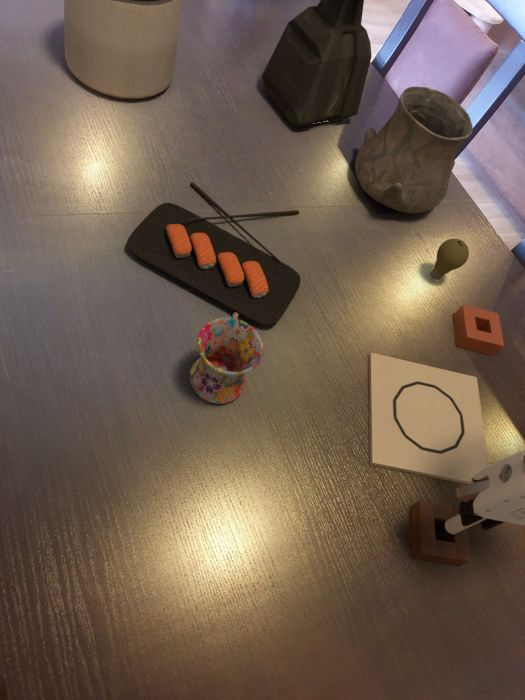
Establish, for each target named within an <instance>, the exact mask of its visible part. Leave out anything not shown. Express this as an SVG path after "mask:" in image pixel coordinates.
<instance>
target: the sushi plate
mask: <svg viewBox="0 0 525 700" xmlns="http://www.w3.org/2000/svg"><path fill="white" fill-rule="evenodd" d="M189 184H191V185H190V187H191V186H193V187H194V188H195V189H194V188H193V187H192V188H193V189H194V190H195V191H196V190H197V191H198V192H197V191H196V192H197V193H198V194H199V193H200V196H201V197H203V198H204V199H205V200H206V201H207V202H208V203H210V205H212V206H213V207H215V209H217V210H218V211H219V212H220V213H221V214H222V215H221V216H206V217H201V216H199V215H198V214H196V213H194V212H193V211H190V210H188V209H186V208H184V207H183V206H180V205H179V204H176V203H173V202H163V203H161V204H159V205H157V206H156V207H155V208H154V209H153V210H152V211H150V213H148V215H147V216H146V217H145V218H144V219H143V220H141V222H140V223H139V224H138V225H137V226H136V227H135V229H134V230H133V231H132V232H131V234H130V235H129V236H128V238H127V241H126V247H127V249H128V250H129V251H130V253H132V254H133V255H134V256H136V257H137V258H139V259H141V260H142V261H144V262H146V263H148V264H149V265H150V266H153V267H154V268H156V269H158V270H159V271H161V272H163V273H165V274H166V275H169V276H170V277H172V278H174V279H175V280H178V281H179V282H181V283H183V284H184V285H186V286H188V287H190V288H192V289H194V290H196V291H197V292H200V293H201V294H203V295H204V296H206V297H208V298H210V299H211V300H214V301H216V302H218V303H219V304H221V305H223V306H225V307H226V308H228V309H229V310H232V311H234V312H236V313H238V315H241V316H243V317H245V318H246V319H249V320H251V321H253V322H255V323H257V324H259V325H262V326H267V327H270V326H273V325H276V324H277V323H278V322H279V321H280V320H281V318H282V317H283V316H284V314H285V313H286V311H287V309H288V308H289V306H290V304H291V303H292V301H293V299H294V298H295V296H296V294H297V292H298V290H299V288H300V285H301V275H300V274H299V272H297V271H296V269H294V268H292V267H291V266H290V265H288V264H286V263H284V262H283V261H281V260H280V259H279V258H278V257H277V256H276V255H275V254H273V253H272V252H271V251H270V250H269V249H268V248H267V247H266V246H264V245H263V244H262V243H261V242H259V240H258V239H257V238H255V237H254V236H253V235H252V234H251V233H250V232H248V231H247V229H245V228H244V226H242V225H241V224H240V223H238V222H237V220H235V219H239V218H255V217H256V218H259V217H260V218H261V217H275V216H279V217H280V216H293V215H299V214H300V211H299V210H298V209H295V210H282V211H281V210H280V211H269V212H268V211H267V212H257V213H248V214H233V215H230V214H229V213H228V212H227V211H225V210H224V209H223V208H222V207H221V206H220V205H219V204H218V203H217V202H215V200H214V199H212V198H211V197H210V196H209V195H208V194H207V193H206V192H205V191H204V190H202V189H201V187H199V186H198V185H197V184H196V183H195V182H193V181H192V182H190V183H189ZM222 219H228V220H230V221H231V222H232V223H233V224H234V225H236V226H237V227H238V228H239V229H240V230H241V231H243V232H244V233H245V234H246V235H247V236H248V237H250V239H251V240H253V241H254V242H255V243H256V244H257V245H259V246H260V247H261V248H262V249H263V250H264V251H263V250H262V249H259V248H257V247H256V246H254V245H252V244H250V243H249V242H247V241H245V240H243V239H242V238H239V237H237V236H236V235H234V234H232V233H231V232H228V231H227V230H225V229H223V228H221V227H220V226H218V225H216V224H214V223H212V222H210V221H209V220H222Z"/></svg>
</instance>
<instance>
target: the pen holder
mask: <svg viewBox="0 0 525 700" xmlns="http://www.w3.org/2000/svg"><path fill="white" fill-rule="evenodd" d="M452 320H453V327H454V328H453V329H454V336H455V345H456V348H459V349H464V350H467V351H471V352H476V353H480V354H484V355H489V356H492V357H494V355H496V354H497V353H498V352H499V351H500V350H501V349H502V348H504V347H505V344H504V337H503V331H502V326H501V325H502V324H501V320H500V314H499V313H497V312H494V311H489V310H486V309H482V308H480V307H479V308H478V307H474V306H472V305H467V304H462V305H461V306H460V307H459V308H458V309H457V310H456V311H455V312H454V313H453V314H452Z"/></svg>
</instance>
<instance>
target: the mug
mask: <svg viewBox="0 0 525 700" xmlns="http://www.w3.org/2000/svg"><path fill="white" fill-rule="evenodd" d="M196 341H197V342H196V345H197V350H198V353H199V355H200V357H199V358H197V360H196V361H195V362H194V363H193V364H192V366H191V369H190V371H189V380H190V381H189V382H190V384H191V387H192V389H193V391H194V392H195V393H196V394H197V395H198V396H199V397H200V398H201V399H202V400H204V401H206V402H209V403H211V404H217V405H218V404H219V405H220V404H227V403H231V402H232V401H235V400H236V399H238V398H239V397H240V396H241V395H242V393H243V391H244V390H245V385H246V376H245V374H248V373H250V372H251V371H253V370H255V369H256V368H257V367H258V366H259V365H260V363H261V361H262V360H263V356H264V344H263V340H262V337H261V336H260V334H259V332H257V330H256V329H255V328H254V327H253V326H252V325H250V324H249V323H248V322H246V321H244V320H242V319H239V313H237V312H235V311H234V312H233V313H232V315H231V317H230V316H229V317H226V316H225V317H218V318H214V319H212V320H210V321H208V322H207V323H206V324H204V326H202V327H201V329H200V331H199V333H198V336H197V340H196Z"/></svg>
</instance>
